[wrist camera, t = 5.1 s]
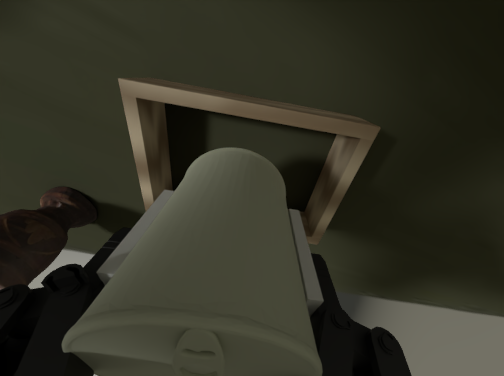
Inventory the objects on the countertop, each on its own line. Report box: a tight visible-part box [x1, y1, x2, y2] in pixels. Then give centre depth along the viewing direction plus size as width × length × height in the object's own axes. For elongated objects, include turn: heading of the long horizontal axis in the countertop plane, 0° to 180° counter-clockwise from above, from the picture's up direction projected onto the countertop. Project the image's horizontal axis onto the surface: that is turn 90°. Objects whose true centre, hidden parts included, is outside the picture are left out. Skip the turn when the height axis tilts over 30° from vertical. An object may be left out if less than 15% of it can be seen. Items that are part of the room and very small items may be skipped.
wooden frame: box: [118, 78, 381, 245], centre depth 21 cm, size 15×22×5 cm
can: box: [62, 148, 323, 376], centre depth 11 cm, size 9×9×12 cm
